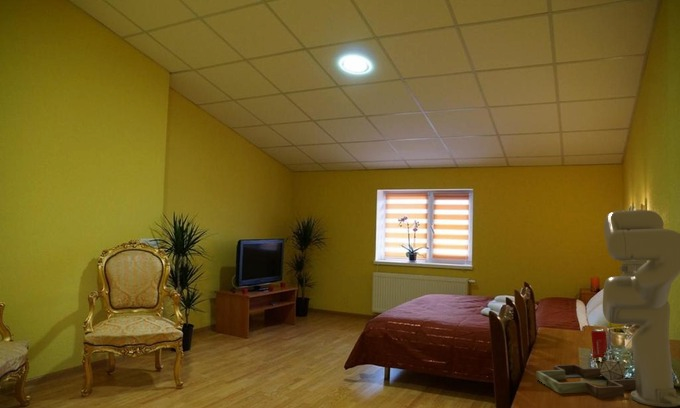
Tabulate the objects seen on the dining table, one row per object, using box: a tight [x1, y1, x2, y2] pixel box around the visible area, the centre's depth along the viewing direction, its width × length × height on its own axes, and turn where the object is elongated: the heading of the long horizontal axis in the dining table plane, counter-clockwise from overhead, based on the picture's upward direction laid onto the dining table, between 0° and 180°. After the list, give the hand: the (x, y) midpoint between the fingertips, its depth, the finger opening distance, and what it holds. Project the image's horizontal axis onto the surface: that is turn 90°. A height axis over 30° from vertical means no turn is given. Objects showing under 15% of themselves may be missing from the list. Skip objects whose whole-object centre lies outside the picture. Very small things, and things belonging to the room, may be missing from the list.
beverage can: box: [590, 328, 608, 359], centre depth 185 cm, size 5×5×12 cm
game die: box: [597, 356, 628, 381], centre depth 157 cm, size 9×8×10 cm
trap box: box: [535, 363, 636, 399], centre depth 156 cm, size 27×30×3 cm
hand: (639, 319), depth 160 cm, fingers open, 9 cm apart
